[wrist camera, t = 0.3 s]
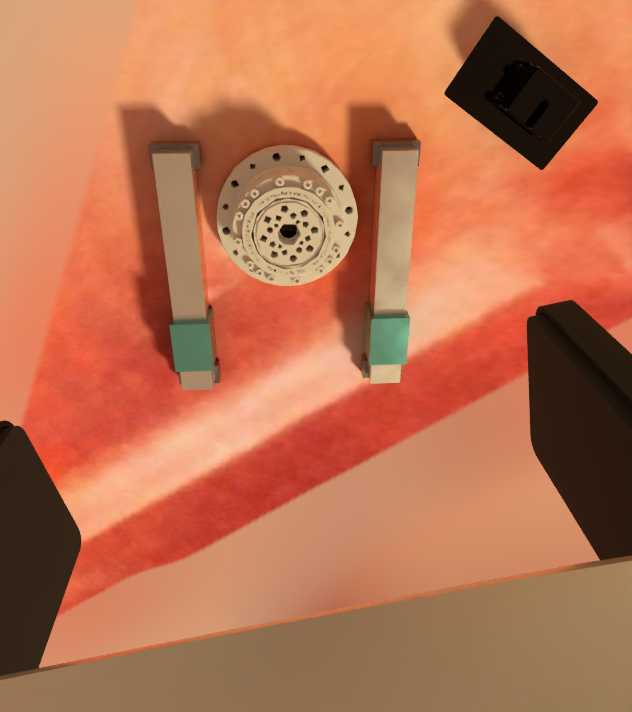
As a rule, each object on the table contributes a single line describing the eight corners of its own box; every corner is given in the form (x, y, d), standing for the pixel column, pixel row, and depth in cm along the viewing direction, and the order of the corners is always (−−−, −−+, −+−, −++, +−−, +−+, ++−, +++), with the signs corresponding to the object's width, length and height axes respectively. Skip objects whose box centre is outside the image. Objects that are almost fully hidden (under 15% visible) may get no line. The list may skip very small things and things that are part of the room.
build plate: (415, 89, 41) (431, 98, 37) (486, -17, 38) (512, -20, 34) (546, 189, 45) (573, 206, 41) (619, 100, 42) (656, 110, 38)
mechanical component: (269, 112, 41) (191, 230, 44) (269, 123, 37) (184, 251, 40) (382, 198, 44) (302, 301, 48) (393, 217, 40) (305, 327, 44)
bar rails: (151, 141, 41) (143, 150, 38) (417, 139, 42) (427, 147, 39) (181, 377, 50) (176, 397, 47) (398, 370, 51) (405, 388, 48)
